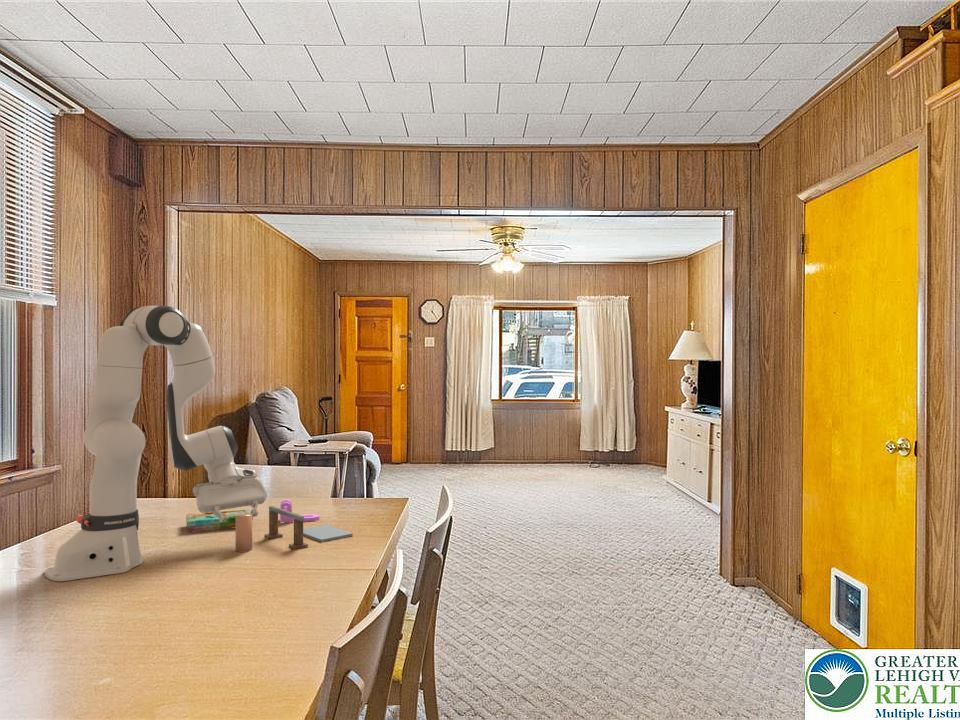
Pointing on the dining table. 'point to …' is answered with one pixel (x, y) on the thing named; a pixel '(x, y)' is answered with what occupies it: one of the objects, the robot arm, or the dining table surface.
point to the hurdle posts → (297, 531)
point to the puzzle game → (212, 520)
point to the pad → (325, 533)
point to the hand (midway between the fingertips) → (239, 518)
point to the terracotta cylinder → (243, 532)
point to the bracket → (289, 508)
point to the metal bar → (286, 513)
